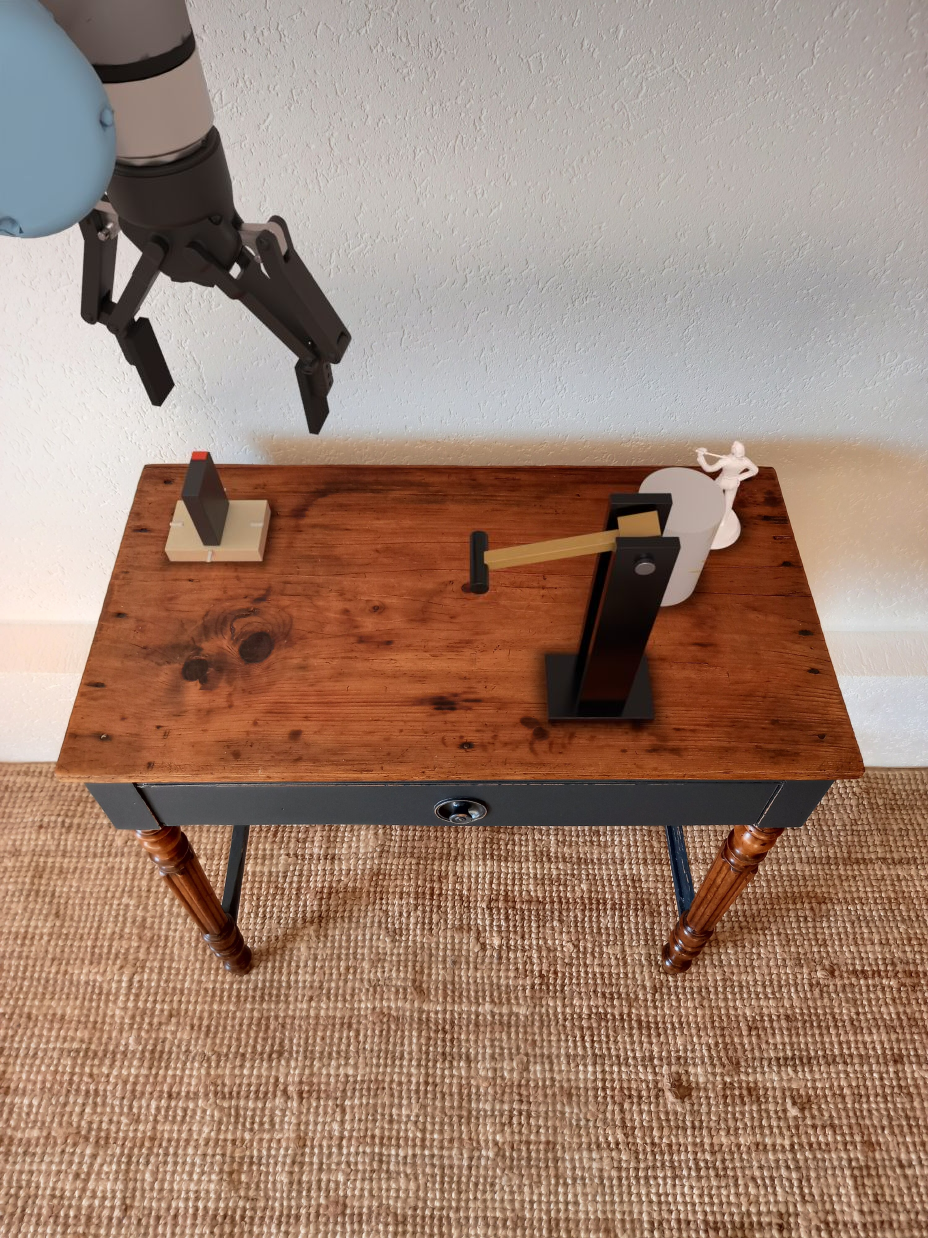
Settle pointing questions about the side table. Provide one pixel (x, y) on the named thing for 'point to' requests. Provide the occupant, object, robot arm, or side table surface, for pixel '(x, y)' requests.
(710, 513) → the light grey cylinder
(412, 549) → the side table surface
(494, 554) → the latch lever
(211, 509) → the thumbturn
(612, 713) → the latch bracket
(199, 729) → the side table surface
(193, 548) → the plate
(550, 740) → the side table surface
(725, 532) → the figurine
